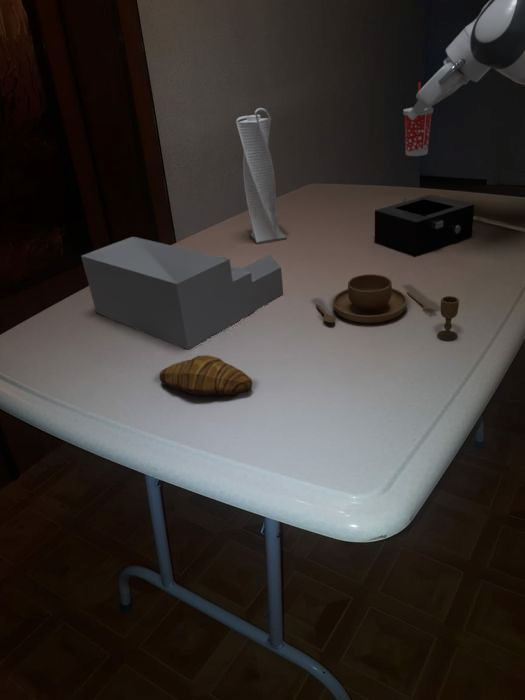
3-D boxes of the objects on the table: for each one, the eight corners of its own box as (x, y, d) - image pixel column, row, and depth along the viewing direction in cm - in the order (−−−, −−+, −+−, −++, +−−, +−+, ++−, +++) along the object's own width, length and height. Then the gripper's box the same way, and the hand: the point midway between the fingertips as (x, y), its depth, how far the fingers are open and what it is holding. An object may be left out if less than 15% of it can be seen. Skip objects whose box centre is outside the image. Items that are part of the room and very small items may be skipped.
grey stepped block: (284, 294, 100) (279, 235, 94) (188, 349, 85) (176, 283, 80) (191, 269, 115) (182, 218, 110) (96, 313, 101) (81, 255, 95)
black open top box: (428, 225, 126) (430, 194, 122) (476, 238, 115) (479, 205, 112) (374, 242, 119) (374, 210, 116) (419, 258, 109) (421, 223, 105)
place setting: (405, 287, 98) (406, 255, 95) (464, 338, 81) (468, 301, 78) (309, 304, 95) (307, 272, 92) (349, 360, 78) (348, 323, 75)
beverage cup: (421, 149, 123) (424, 79, 116) (437, 153, 118) (441, 80, 111) (396, 153, 122) (398, 83, 115) (411, 158, 117) (413, 84, 110)
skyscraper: (288, 240, 125) (278, 106, 111) (253, 246, 124) (239, 111, 110) (278, 230, 132) (267, 103, 119) (245, 236, 131) (230, 108, 117)
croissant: (150, 397, 75) (142, 365, 72) (173, 370, 80) (166, 340, 78) (243, 408, 70) (238, 375, 68) (260, 380, 76) (257, 348, 73)
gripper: (469, 76, 99) (412, 134, 109) (487, 65, 115) (436, 117, 124) (445, 49, 99) (390, 111, 108) (466, 43, 115) (417, 97, 124)
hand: (415, 114), depth 116 cm, fingers closed on beverage cup, 6 cm apart
